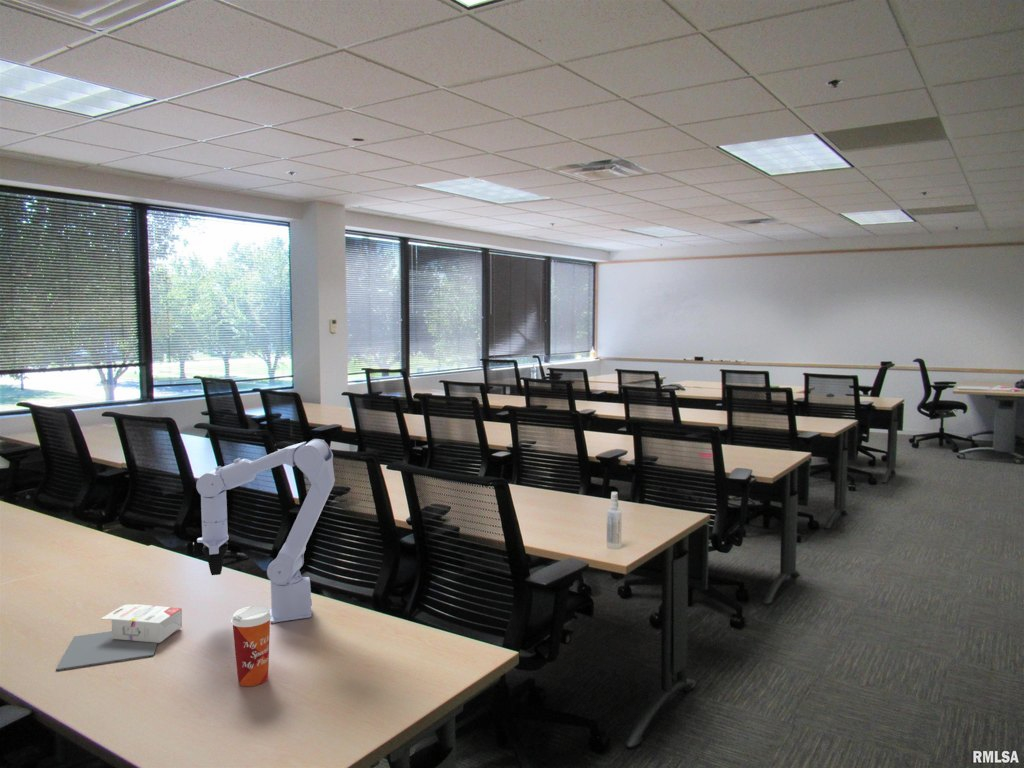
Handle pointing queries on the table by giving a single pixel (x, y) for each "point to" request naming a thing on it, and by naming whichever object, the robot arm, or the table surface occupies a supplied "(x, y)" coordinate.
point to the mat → (103, 650)
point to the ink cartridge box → (144, 622)
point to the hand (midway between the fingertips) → (216, 574)
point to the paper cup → (252, 644)
